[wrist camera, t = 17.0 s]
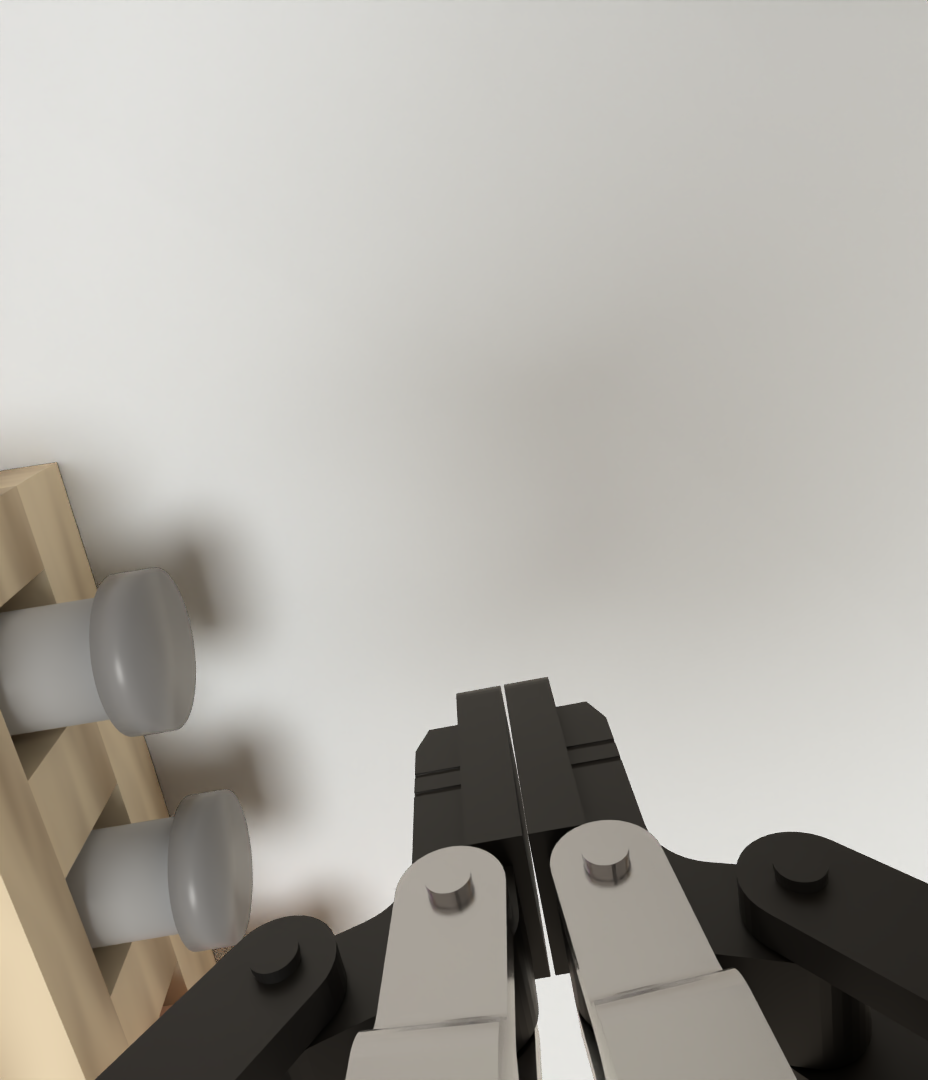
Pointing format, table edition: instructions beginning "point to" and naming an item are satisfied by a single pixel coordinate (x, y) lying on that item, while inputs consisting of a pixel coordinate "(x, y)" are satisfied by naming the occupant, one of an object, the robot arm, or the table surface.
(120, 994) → the socket rail
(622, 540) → the table surface
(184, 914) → the grey dowel
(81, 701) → the grey dowel
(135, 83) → the table surface
